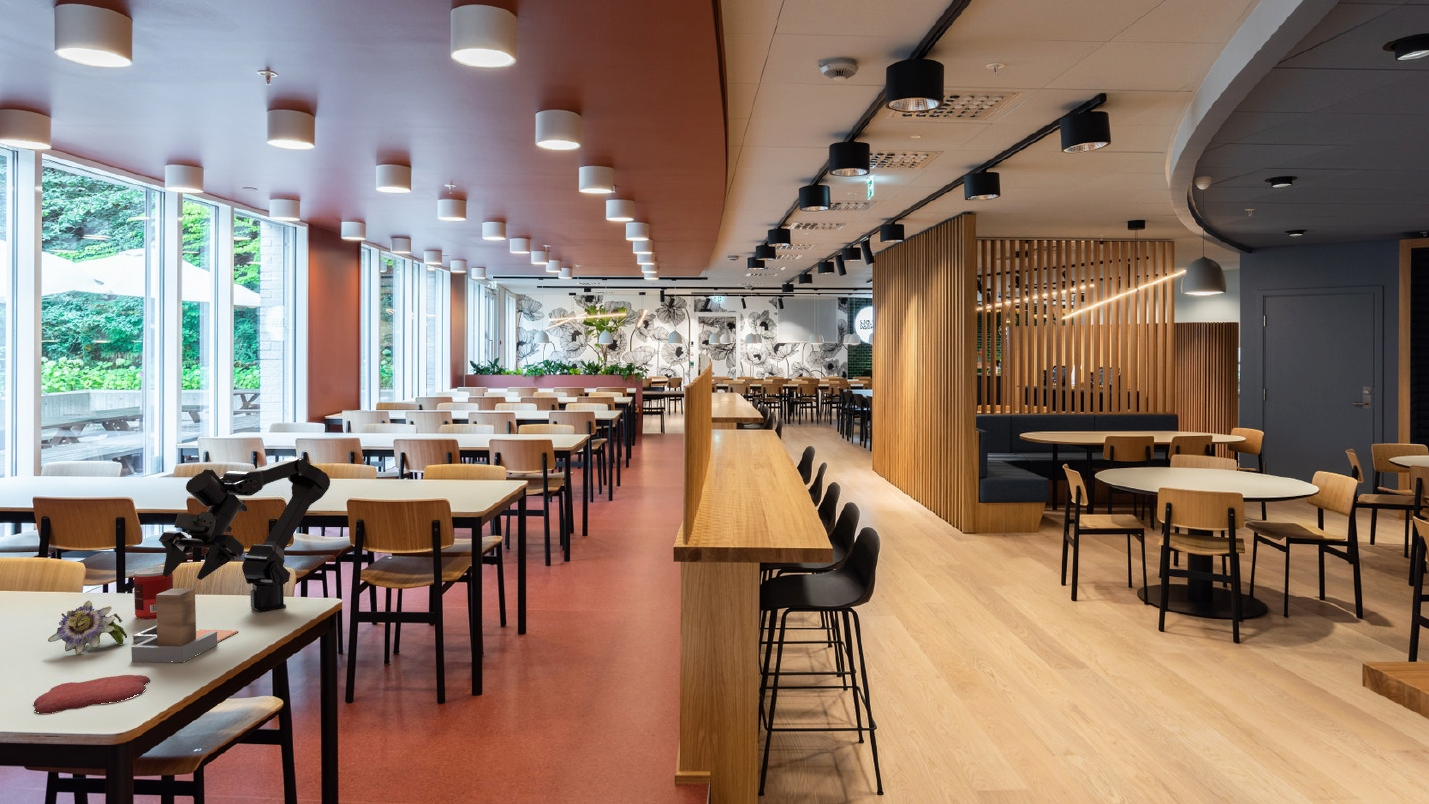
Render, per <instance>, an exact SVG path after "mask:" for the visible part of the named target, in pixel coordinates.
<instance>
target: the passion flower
mask: <svg viewBox="0 0 1429 804" xmlns="http://www.w3.org/2000/svg"><path fill="white" fill-rule="evenodd" d="M93 605H94V604H93V601H90V600H86V601H85V602H84V604H83V605H82V606H79V607H78V608H75V610H74V609H73V610H72V609H71V610H68V611H67V612H66V614H65V613H61V616H62V617H61V620H60V621H59V622H58V625H59V627H57V630H56V632H55V633H54V634H53V635H51V636H50V637H48V639H47V641H48V642H49V643H52V642H53V643H54V642H57V641H60V640H62V641H63V642H65V646H64V651H65V652H69V651H72V650H74V652H75V655H76V656H79V655H81V654H82V653H83V652H84V651H85V648H86V645H87V644H89V645H90V646H91V647H93V648H97V647H99V645H100V643H101V635H102V634H104V633H105V634H106V633H107V634H109V635H110V636H111V638H112V639H114V641H115V642H116V644H117V645H120V644H122V645H123V644H124V638H125V639H127V638H128V635H127V633H126V631H125V629H124V628H123V627H122V626H120V625H119V624H117V623H116V622H114V621H115V620H116V619H117V620H118V622H119V623H122V622H123V619H122V618H121V617H120V615H119V614H118V613H114V614H111V615H110V616H106V615H108V614H109V613H110V612H111V611H112V609H113V608H112V606H111V605H108V606H105V607H103V608H100V609H96V610H95V608H94V606H93ZM123 636H124V637H123Z"/></svg>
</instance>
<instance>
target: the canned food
mask: <svg viewBox="0 0 1429 804" xmlns="http://www.w3.org/2000/svg"><path fill="white" fill-rule="evenodd" d="M163 570H164V566H151V567H145V568H141V569H138V570H136V571H134V572H133V590H134V591H133V593H134V595H133V596H134V615H135V617H136V619H138V620H155V619H156V620H157V609H156V594H159V593H162V592H164V591H167V590H170V589H172V588H174V573H173V572H174V571H173V572H172V573H171V574H170V575H169V576H168V577H164V576H163Z"/></svg>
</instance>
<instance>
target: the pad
mask: <svg viewBox="0 0 1429 804" xmlns="http://www.w3.org/2000/svg"><path fill="white" fill-rule="evenodd" d="M211 632H217V644H218V643H219V642H222V641H224V640H226V639H227V638H226V637H228V636H230V637H231V636H234V635H236V634H238V633H239V630H237V629H235V630H233V629H231V630H229V629H199V630H196V639H198V638H200V637H202V636H204V635H206V634H208V633H211ZM237 632H238V633H237ZM235 633H236V634H235ZM233 634H234V635H233ZM225 638H226V639H225ZM228 638H229V637H228ZM223 639H224V640H223ZM221 640H222V641H221Z"/></svg>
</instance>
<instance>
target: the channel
mask: <svg viewBox="0 0 1429 804" xmlns="http://www.w3.org/2000/svg"><path fill="white" fill-rule="evenodd" d="M215 645H217V646H218V643H217V632H211V633H208V634H206V635H204V636H202V637H200V638H198V639H196V640H194V641H192V642H190V643H188V644H186V645H184V646H182V647H177V646H157V636H155V637H152V638H150V639H148V640H146V641H144V642H138V643H136V644H134V645H133V646H131V662H136V663H137V662H141V663H143V662H144V663H145V662H146V663H171V661H173V662H184V661H186V662H188V661H189V659H190V658H192V657H194V656H195V655H197V654H199V653H201V652H203V653H205V652H207V651H209V650H210V648H211V649H213V648H215V647H216V646H215ZM214 646H215V647H214ZM212 647H213V648H212ZM201 654H202V653H201ZM199 655H200V654H199ZM197 656H198V655H197ZM194 658H195V657H194ZM192 659H193V658H192ZM187 660H188V661H187ZM190 660H191V659H190ZM184 663H185V662H184Z"/></svg>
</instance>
